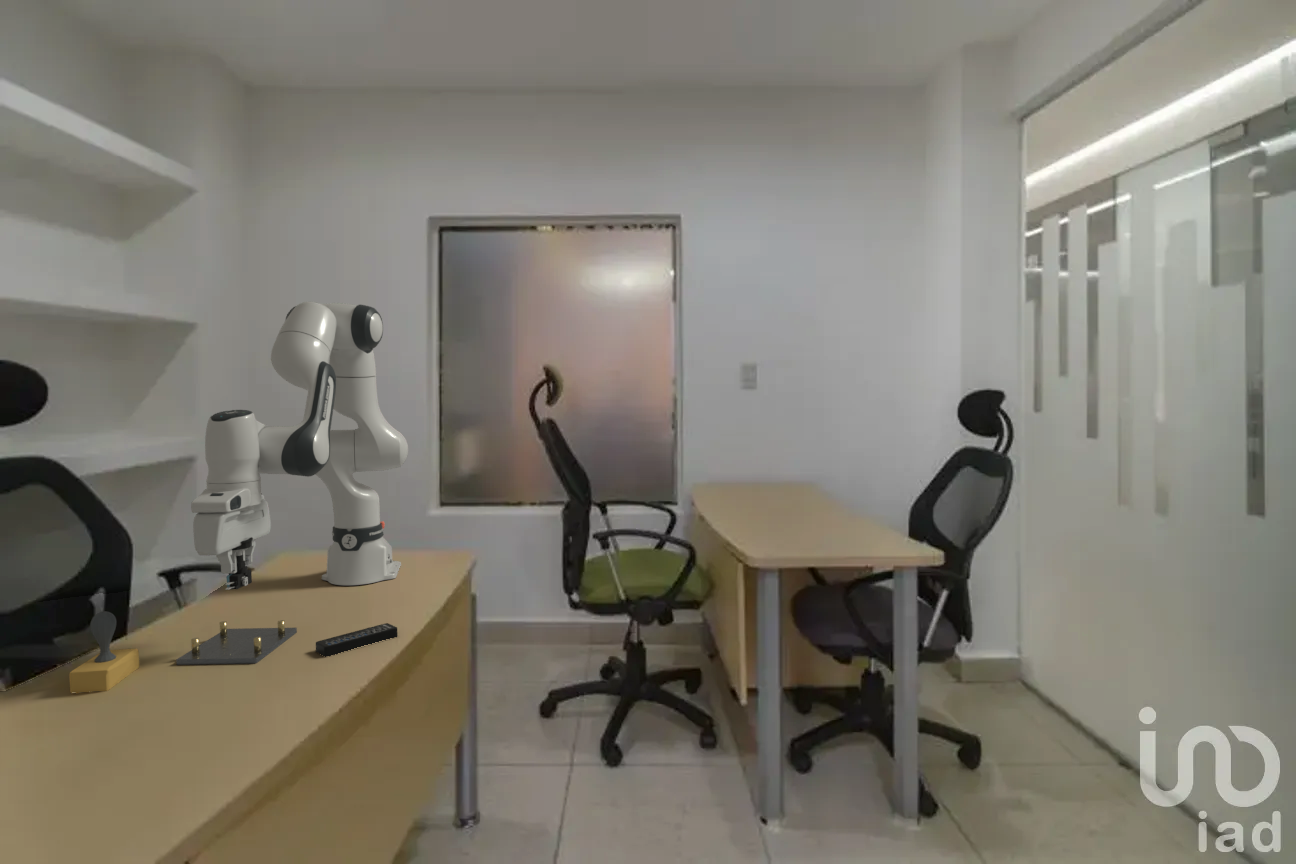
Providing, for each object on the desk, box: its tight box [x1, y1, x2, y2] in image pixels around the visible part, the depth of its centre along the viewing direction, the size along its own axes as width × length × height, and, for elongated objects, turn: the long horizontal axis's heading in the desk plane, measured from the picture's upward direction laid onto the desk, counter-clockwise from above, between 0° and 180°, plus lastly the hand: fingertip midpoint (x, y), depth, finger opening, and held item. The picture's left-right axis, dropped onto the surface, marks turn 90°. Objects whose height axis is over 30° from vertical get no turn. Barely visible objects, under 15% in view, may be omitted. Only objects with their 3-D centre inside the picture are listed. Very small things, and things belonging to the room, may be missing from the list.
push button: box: [224, 534, 253, 591], centre depth 132 cm, size 7×5×10 cm
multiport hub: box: [315, 622, 398, 658], centre depth 135 cm, size 4×14×2 cm, turn 138°
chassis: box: [175, 619, 298, 666], centre depth 133 cm, size 16×14×4 cm
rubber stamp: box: [68, 610, 140, 694], centre depth 118 cm, size 10×6×12 cm, turn 11°
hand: (237, 568), depth 132 cm, fingers closed on push button, 5 cm apart
